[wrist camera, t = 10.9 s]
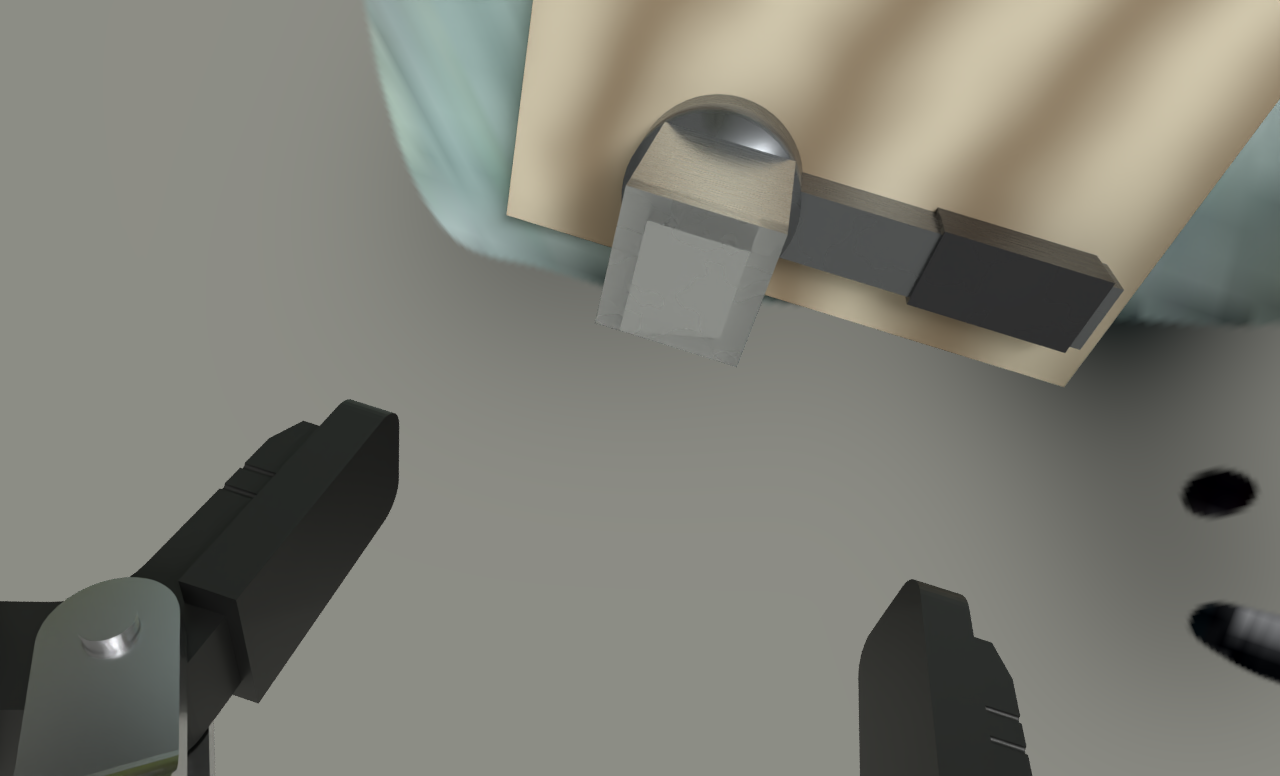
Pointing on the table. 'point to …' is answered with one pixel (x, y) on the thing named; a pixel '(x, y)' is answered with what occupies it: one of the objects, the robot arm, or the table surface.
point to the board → (918, 121)
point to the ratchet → (917, 243)
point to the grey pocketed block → (697, 243)
